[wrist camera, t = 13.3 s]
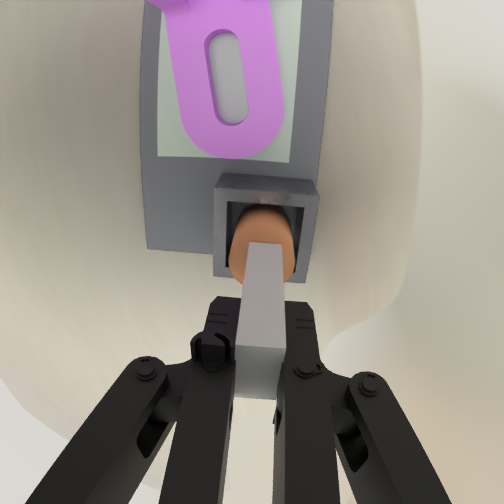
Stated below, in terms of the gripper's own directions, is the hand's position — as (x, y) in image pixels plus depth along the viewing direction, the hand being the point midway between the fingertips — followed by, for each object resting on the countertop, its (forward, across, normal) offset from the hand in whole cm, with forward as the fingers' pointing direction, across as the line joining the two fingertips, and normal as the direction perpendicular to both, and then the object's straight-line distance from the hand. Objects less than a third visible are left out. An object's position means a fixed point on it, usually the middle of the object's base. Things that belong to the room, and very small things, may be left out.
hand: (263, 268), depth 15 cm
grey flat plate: (+6, -3, +8) cm, 10 cm away
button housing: (+6, 0, 0) cm, 6 cm away
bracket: (+6, -3, +11) cm, 12 cm away
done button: (+4, 0, 0) cm, 4 cm away
